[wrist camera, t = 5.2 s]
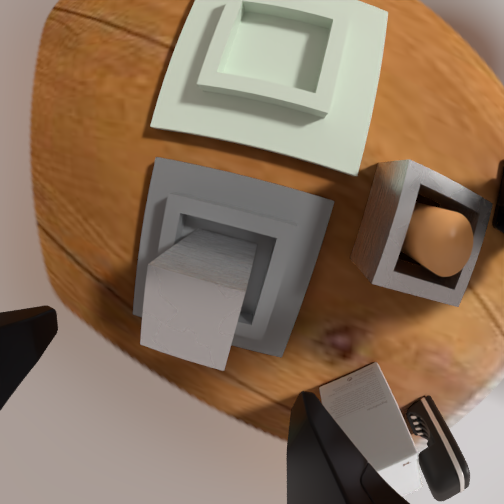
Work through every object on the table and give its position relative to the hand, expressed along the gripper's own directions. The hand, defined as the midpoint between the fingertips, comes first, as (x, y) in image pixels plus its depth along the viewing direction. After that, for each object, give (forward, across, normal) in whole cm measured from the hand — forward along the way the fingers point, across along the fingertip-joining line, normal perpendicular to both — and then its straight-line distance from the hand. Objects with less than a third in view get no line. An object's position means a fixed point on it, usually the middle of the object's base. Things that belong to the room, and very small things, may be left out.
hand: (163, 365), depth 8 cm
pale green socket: (+12, 0, -15) cm, 19 cm away
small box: (+12, -15, +10) cm, 22 cm away
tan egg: (+11, -12, -6) cm, 17 cm away
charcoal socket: (+12, 0, 0) cm, 12 cm away
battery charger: (+12, -24, +12) cm, 29 cm away
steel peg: (+11, 0, 0) cm, 11 cm away
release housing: (+12, -12, -6) cm, 18 cm away
